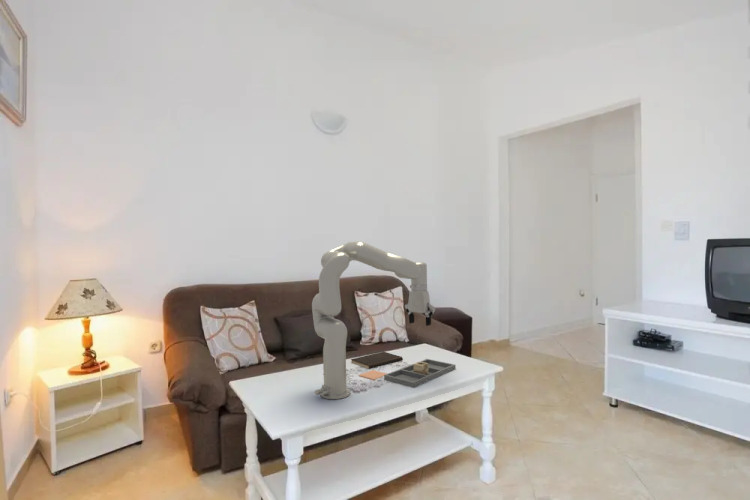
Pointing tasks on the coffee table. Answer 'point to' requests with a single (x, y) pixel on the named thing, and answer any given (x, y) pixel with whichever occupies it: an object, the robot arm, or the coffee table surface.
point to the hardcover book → (376, 360)
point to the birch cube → (421, 368)
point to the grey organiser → (415, 379)
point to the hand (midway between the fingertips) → (420, 324)
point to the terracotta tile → (372, 375)
